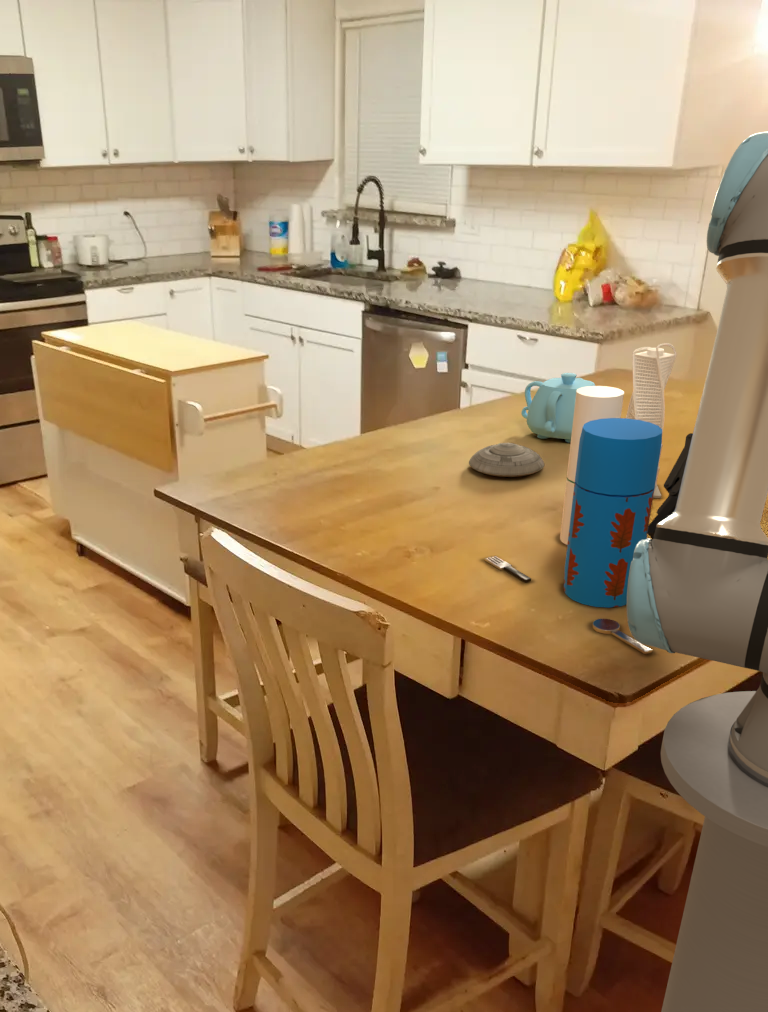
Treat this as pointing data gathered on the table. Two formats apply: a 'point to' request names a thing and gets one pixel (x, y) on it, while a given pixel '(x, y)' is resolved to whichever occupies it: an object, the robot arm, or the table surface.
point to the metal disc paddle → (618, 633)
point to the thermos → (610, 507)
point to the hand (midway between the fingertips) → (652, 536)
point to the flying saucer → (506, 460)
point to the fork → (507, 568)
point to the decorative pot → (553, 406)
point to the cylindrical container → (587, 408)
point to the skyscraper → (650, 388)
